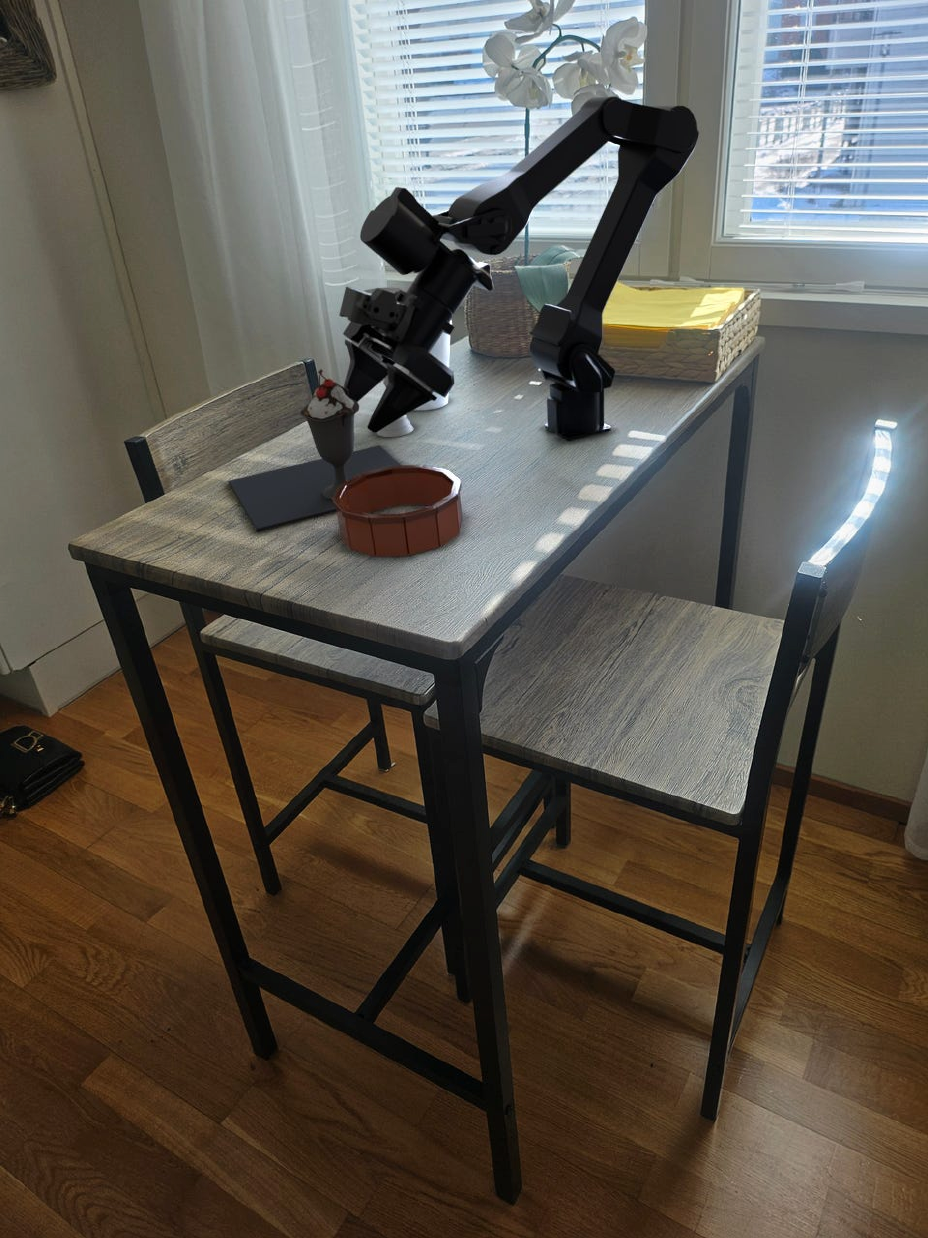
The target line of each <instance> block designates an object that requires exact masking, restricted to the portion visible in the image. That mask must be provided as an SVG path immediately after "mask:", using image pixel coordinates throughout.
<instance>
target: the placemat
mask: <svg viewBox="0 0 928 1238" xmlns="http://www.w3.org/2000/svg"><path fill="white" fill-rule="evenodd" d="M389 466H391V467H392V466H402V464H401V463H400V462H399V461H398V460H397V459H395V458H394V457H393V456H392V455H391V454H390V453H389V452H387V451H386V450H385V449H384V448H383V447H382V446H381V445H380V444H379V445H375V446H370V447H366V448H361V449H357V450H354V452H353V454H352V455H351V457H350V459H349V460H348V461H347V462H346V463H345V465H344V468H345V474H346V477H347V480H350V479H352V478H354V477H355V476H357V475H359V474H362V473H365V472H369V471H373V470H377V469H381V468H385V467H389ZM334 483H335V470H334V466H333V465H332V464H330V463H328V462H326V461H325V460H323V459H322V458H319V459H315V460H312V461H307V462H303V463H298V464H294V465H290V466H285V467H282V468H277V469H272V470H268V471H264V472H260V473H256V474H251V475H247V476H243V477H238V478H233V479H231V480H228V485H229V486H230V488H231V490H232V492H233V494H234V495H235V497H236V498H237V500H238V501H239V504H240V505H241V507H242V509H243V510H244V512H245V513H246V515H247V517H248V518H249V520H250V522H251V524H252V525H253V527H254V529H255V531H256V532H257V533H260V532H263V531H267V530H270V529H271V530H272V529H275V528H279V527H282V526H286V525H290V524H294V523H299V522H303V521H306V520H310V519H314V518H318V517H321V516H326V515H329V514H334V513H337V511H336V508H335V506H334V505H333V500H328V499H326V498H325V497H323V495H322V492H323V491H324V489H326V488H327V487H329V486H331V485H334Z"/></svg>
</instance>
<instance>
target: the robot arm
mask: <svg viewBox="0 0 928 1238" xmlns="http://www.w3.org/2000/svg"><path fill="white" fill-rule="evenodd" d="M699 136H700V131H699V130H698V123H697V119H696V116H695V114H694V112H692V110H691V108H689V107H688V106H685V105H657V106H656V105H653V106H652V105H651V106H650V105H645V104H640V103H636V102H631V101H628V100H625V99H622V98H621V97H619V96H617V95H616V96H615V95H614V96H594V97H593V96H592V97H590V98H588V99H587V100H586V101H585V102H584V103H583V104H581V106H580V108H579V110H578V111H576V112H575V113H574V114H573V115H572V116H571V117H569V119H567V120H566V121H565V122H564V123H563V124H562V125H560V126H559V127H558V128H557V129H556V130H554V131H553V132H552V133H551V134H550V135H549V136H548V137H547V138H545V139H544V140H543V141H542V142H541V143H539V144H538V146H536V147H535V148H534V149H533V150H532V151H531V152H530V153H528V154H527V155H526V156H525V157H524V158H523V159H521V160H520V161H519V162H518V163H516V165H514V166H513V167H512V168H510V170H509V171H507V172H505V173H504V174H502V175H500V176H498V177H496V178H493V179H491V180H488V181H486V182H483V183H480V184H479V185H477V186H475V187H473V188H472V189H470V190H469V191H468V192H465V193H463V194H462V195H460V196H459V197H457V198H456V199H454V201H453V202H452V203H451V205H450V206H449V208H448V209H447V210H443V211H439V212H437V213H435V214H431V213H430V212H429V211H428V210H427V209H426V208H425V207H424V206H422V204H421V203H419V202H418V200H417V199H416V197H415V195H413V193H411V192H410V191H409V189H407V188H406V187H401V186H396V187H394V189H393V190H392V192H391V194H390V195H389V196H387V197H386V198H384V199H383V200H382V201H381V202H380V203H378V204H377V205H376V207H375V208H374V209H372V210H370V212H369V213H368V214H367V216H366V218H365V220H364V222H363V223H362V226H361V229H360V231H359V232H360V234H359V239H360V241H361V242H362V243H363V244H364V245H365V246H367V247H368V248H369V249H370V250H372V252H374V253H375V254H376V255H377V256H379V257H380V258H381V259H383V261H385V262H386V263H387V264H388V265H389V266H390V267H392V268H393V269H394V270H395V271H397V273H399V274H400V275H402V276H406V275H409V274H412V273H414V274H417V275H416V276H415V278H414V279H413V281H412V282H411V284H410V285H409V287H408V289H407V290H406V291H405V290H404V291H402V290H399V291H396V292H395V293H392V292H390V291H386V290H383V289H380V288H381V287H376V289H375V288H374V289H375V291H374V292H373V293H372V294H371V293H367V292H364V290H362V289H361V290H360V289H357V288H354V287H350V286H345V289H344V294H343V298H342V303H341V306H340V310H339V313H338V314H339V315H338V316H339V317H341V318H347V321H349V323H348V325H347V326H346V328H345V329H344V331H343V332H342V335H344V337H346V338H347V339H346V338H345V339H344V346H346V349H347V352H348V357H349V365H348V369H347V373H346V377H345V379H344V383H343V387H344V388H346V389H348V390H349V395H348V398H351V399H352V400H355V401H357V402H358V403H359V402H360V400H362V399H363V398H364V397H365V396H366V395H367V394H368V393H370V392H371V391H372V390H373V389H374V388H375V387H376V386H377V385H379V384H380V383H381V382H382V381H384V378H385V377H386V376H387V375H388V385H387V387H385V389H384V391H383V393H382V395H381V397H380V399H379V401H378V403H377V405H376V407H375V409H374V411H373V413H372V415H371V417H370V420H369V421H368V424H367V429H368V431H371V432H372V433H374V434H377V432H378V431H380V430H381V429H383V428H385V427H386V426H388V425H389V424H391V423H393V422H394V421H396V420H397V419H399V418H401V417H402V416H404V415H406V416H407V415H408V414H409V413H411V412H413V411H415V410H414V409H416V408H418V407H420V406H422V405H424V404H425V403H427V402H429V401H431V400H433V401H435V400H436V399H437V397H436V396H435V395H433V394H432V393H433V392H435V393H437V394H439V395H441V396H442V397H444V398H445V397H446V396H447V394H448V395H449V392H450V391H451V390H452V389H453V387H454V385H455V375H454V371H453V370H452V369H451V368H450V367H449V368H448V367H447V366H446V365H445V364H443V363H442V362H441V361H439V360H438V359H437V358H436V357H434V356H433V355H432V354H431V353H430V351H431V350H432V348H433V347H434V345H435V344H436V342H437V341H438V339H439V338H440V336H441V334H442V333H443V332H444V333H446V334H448V335H450V336H451V334H452V333H453V331H454V329H455V328H456V327H455V326H454V324H452V325H451V324H450V323H449V322H450V321H451V322H452V320H453V318H454V315H456V313H457V311H458V310H459V308H461V307H460V306H461V305H462V304H463V302H464V300H465V299H466V298H467V296H468V295H469V293H470V291H471V290H472V288H473V287H476V288H479V289H481V290H485V291H488V292H491V291H493V290H494V283H493V278H492V274H491V270H492V269H491V268H492V267H491V264H489V263H486V262H481V261H479V262H476V261H475V260H474V259H473V258H472V257H471V256H470V255H469V254H468V253H466V252H465V251H464V250H466V251H470V252H474V253H479V254H482V255H487V256H488V255H489V256H498V255H500V254H502V253H504V252H506V251H507V250H508V249H509V248H510V247H511V245H512V244H513V243H514V242H515V240H516V239H517V238H518V236H519V235H520V234H521V233H522V232H523V231H524V230H525V228H526V226H527V225H528V222H529V220H530V217H531V216H532V213H533V212H534V210H535V208H536V207H537V206H538V205H539V204H540V202H542V201H543V200H544V199H545V198H546V197H547V196H549V195H550V194H551V193H552V192H553V191H554V190H555V189H556V188H558V187H559V186H560V185H561V184H562V183H563V182H564V181H566V180H567V179H568V178H569V177H570V176H571V175H572V174H573V173H575V172H576V171H577V170H578V169H579V168H580V167H581V166H582V165H584V164H586V162H587V161H588V160H590V159H591V158H592V157H593V156H594V155H595V154H596V153H597V152H598V151H599V150H601V149H602V148H603V147H604V146H605V145H606V144H608V143H609V144H611V145H614V146H619V147H618V151H617V180H616V182H615V185H614V188H613V190H612V192H611V194H610V197H609V198H608V201H607V203H606V205H605V208H604V209H603V212H602V215H601V217H600V219H599V221H598V223H597V225H596V228H595V230H594V233H593V235H592V237H591V239H590V241H589V244H588V246H587V249H586V251H585V253H584V254H583V257H582V259H581V262H580V264H579V266H578V269H577V271H576V273H575V275H574V277H573V280H572V282H571V284H570V287H569V289H568V291H567V293H566V295H565V297H563V299H562V300H560V301H559V302H558V303H557V304H556V305H552V304H549V303H544V304H543V306H542V307H541V308H540V311H539V315H538V318H537V321H536V323H535V325H534V326H533V328H532V329H531V330H530V331H529V333H528V335H529V336H531V340H530V342H529V349H528V350H529V353H530V357H531V360H532V362H533V363H534V365H535V367H537V368H538V369H539V370H540V372H541V375H542V378H543V380H545V381H550V382H551V384H549V396H548V397H547V399H546V412H547V414H546V415H547V417H546V418H547V423H544V428H545V429H546V430H547V431H550V432H551V433H553V434H555V435H556V436H558V437H559V438H562V439H563V440H565V441H567V442H572V441H576V440H580V439H584V438H588V437H592V436H596V435H600V434H604V433H607V432H610V431H611V430H612V426H610V425H608V424H607V423H605V389H609V388H611V387H612V384H613V381H614V377H615V374H616V370H615V368H614V367H613V366H612V365H610V363H609V362H608V361H607V360H605V358H604V357H602V356H601V355H600V354H599V353H600V349H601V346H602V344H603V340H604V321H603V320H604V318H603V317H604V316H603V315H604V311H605V309H606V306H607V304H608V303H609V300H610V297H611V295H612V293H613V291H614V289H615V287H616V284H617V282H618V280H619V278H620V275H621V274H622V271H623V269H624V267H625V265H626V263H627V260H628V259H629V256H630V253H631V252H632V250H633V247H634V245H635V244H636V241H637V238H638V236H639V234H640V232H641V230H642V228H643V226H644V223H645V221H646V219H647V216H648V215H649V212H650V210H651V208H652V206H653V203H654V201H655V199H656V198H657V196H658V194H659V193H661V192H662V190H664V189H665V188H666V187H667V186H668V185H669V184H670V183H671V182H672V181H674V180H675V178H676V177H677V176H679V175H680V173H681V172H682V170H683V169H684V167H685V165H686V164H687V163H688V160H689V159H690V157H691V156H692V154H693V152H694V151H695V148H696V146H697V145H698V144H697V143H698V141H699ZM441 240H444V241H449V242H453V244H454V245H456V246H457V247H458V248H455V249H450V248H449V247H448V246H447V245H445V243H444V242H442V241H441ZM348 339H349V340H350V341H349V340H348ZM380 363H383V364H385V365H387V368H385V367H384V366H383V365H381V364H380ZM394 364H398V365H400V366H402V368H401V370H400V369H398V368H397V367H395V365H394ZM393 365H394V366H393Z"/></svg>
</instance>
